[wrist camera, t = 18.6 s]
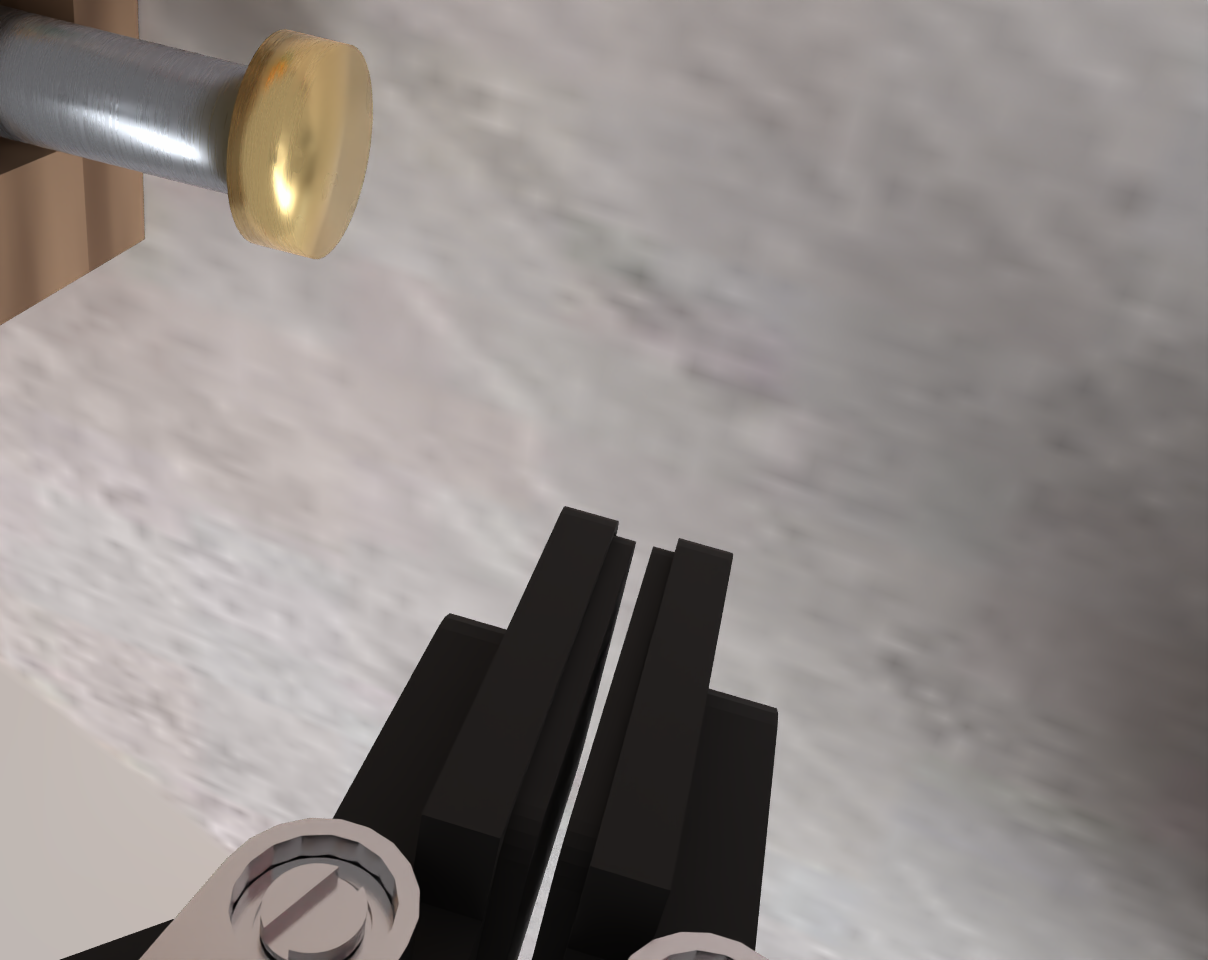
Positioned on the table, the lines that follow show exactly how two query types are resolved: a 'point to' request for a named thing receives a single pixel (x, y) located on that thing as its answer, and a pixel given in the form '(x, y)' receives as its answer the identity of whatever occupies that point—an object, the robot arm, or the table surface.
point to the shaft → (202, 119)
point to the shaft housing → (64, 191)
